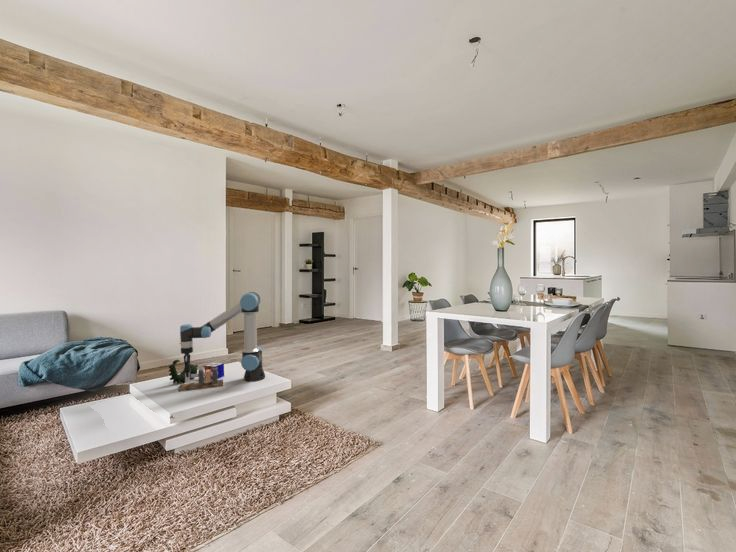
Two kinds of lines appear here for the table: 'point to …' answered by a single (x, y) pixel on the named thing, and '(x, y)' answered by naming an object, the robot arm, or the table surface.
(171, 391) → the table surface
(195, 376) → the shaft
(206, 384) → the shaft stand
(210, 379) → the spacer
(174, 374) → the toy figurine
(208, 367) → the puzzle cube
